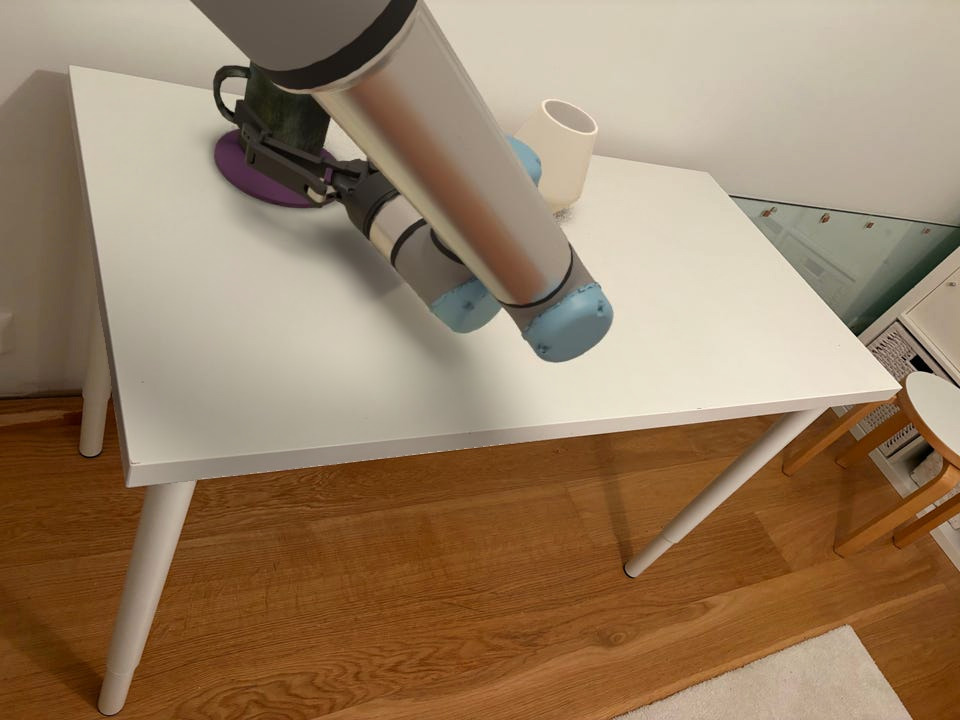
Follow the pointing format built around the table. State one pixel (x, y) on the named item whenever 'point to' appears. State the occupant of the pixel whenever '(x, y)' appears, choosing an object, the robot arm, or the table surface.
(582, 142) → the cup
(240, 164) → the place mat
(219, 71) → the mug
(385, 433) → the table surface
